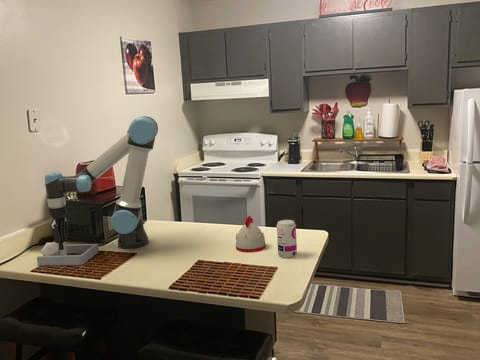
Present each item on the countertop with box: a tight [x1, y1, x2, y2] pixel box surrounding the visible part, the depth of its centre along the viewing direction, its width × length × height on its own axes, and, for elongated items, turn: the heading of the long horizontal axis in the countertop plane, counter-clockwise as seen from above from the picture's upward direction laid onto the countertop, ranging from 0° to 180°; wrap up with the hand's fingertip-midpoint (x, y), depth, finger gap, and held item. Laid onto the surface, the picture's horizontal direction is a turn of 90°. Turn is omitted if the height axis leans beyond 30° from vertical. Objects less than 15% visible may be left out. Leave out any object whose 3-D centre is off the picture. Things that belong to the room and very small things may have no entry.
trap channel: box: [36, 243, 100, 267], centre depth 208 cm, size 22×17×4 cm
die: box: [40, 241, 60, 256], centre depth 209 cm, size 8×9×10 cm
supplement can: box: [276, 219, 298, 259], centre depth 193 cm, size 8×8×15 cm
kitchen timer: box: [235, 215, 267, 253], centre depth 207 cm, size 14×14×15 cm
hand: (63, 255), depth 209 cm, fingers closed
